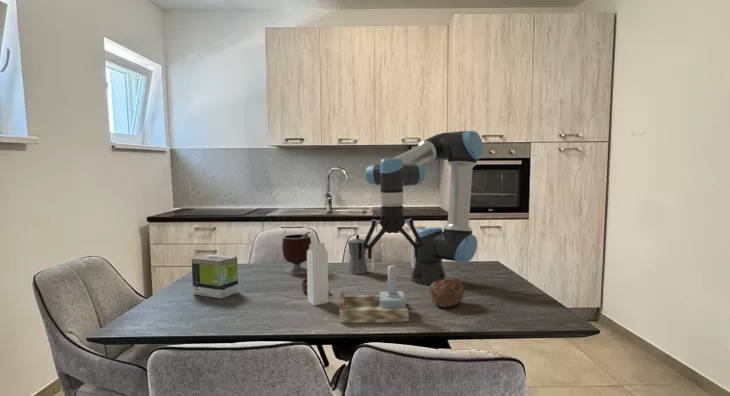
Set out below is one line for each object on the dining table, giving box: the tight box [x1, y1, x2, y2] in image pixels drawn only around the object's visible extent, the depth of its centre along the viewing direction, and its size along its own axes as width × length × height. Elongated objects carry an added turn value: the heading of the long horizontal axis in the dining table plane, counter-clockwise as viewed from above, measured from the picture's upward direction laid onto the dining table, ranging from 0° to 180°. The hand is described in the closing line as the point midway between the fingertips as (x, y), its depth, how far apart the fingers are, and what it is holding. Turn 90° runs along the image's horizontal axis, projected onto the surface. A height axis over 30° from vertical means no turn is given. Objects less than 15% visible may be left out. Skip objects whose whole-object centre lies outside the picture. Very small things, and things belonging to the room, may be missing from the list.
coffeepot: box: [347, 234, 368, 275], centre depth 185 cm, size 15×9×18 cm, turn 9°
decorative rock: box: [429, 276, 465, 308], centre depth 140 cm, size 13×11×10 cm
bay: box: [339, 290, 410, 324], centre depth 134 cm, size 22×18×6 cm
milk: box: [306, 242, 329, 306], centre depth 144 cm, size 6×6×22 cm
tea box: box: [191, 253, 239, 299], centre depth 156 cm, size 15×10×15 cm, turn 65°
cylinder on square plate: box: [378, 265, 408, 309], centre depth 132 cm, size 8×10×15 cm
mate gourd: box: [281, 231, 312, 275], centre depth 189 cm, size 16×14×20 cm
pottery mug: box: [301, 277, 307, 293], centre depth 158 cm, size 12×10×8 cm
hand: (393, 267), depth 132 cm, fingers open, 13 cm apart
